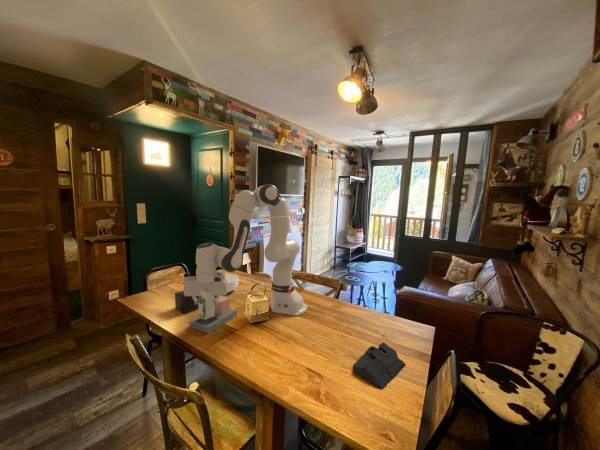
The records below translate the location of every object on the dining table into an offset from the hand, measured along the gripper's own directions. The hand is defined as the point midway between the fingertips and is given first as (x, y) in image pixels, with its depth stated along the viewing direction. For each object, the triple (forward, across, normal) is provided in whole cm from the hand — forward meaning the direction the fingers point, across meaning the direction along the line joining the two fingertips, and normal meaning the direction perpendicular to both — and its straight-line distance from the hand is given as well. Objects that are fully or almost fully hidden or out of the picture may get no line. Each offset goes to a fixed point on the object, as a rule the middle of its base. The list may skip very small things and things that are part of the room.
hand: (206, 303), depth 119 cm
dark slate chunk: (+12, +72, -36) cm, 82 cm away
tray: (+11, +3, +4) cm, 12 cm away
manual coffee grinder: (+12, -16, +21) cm, 29 cm away
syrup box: (+7, 0, 0) cm, 7 cm away
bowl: (+12, +1, +44) cm, 45 cm away
